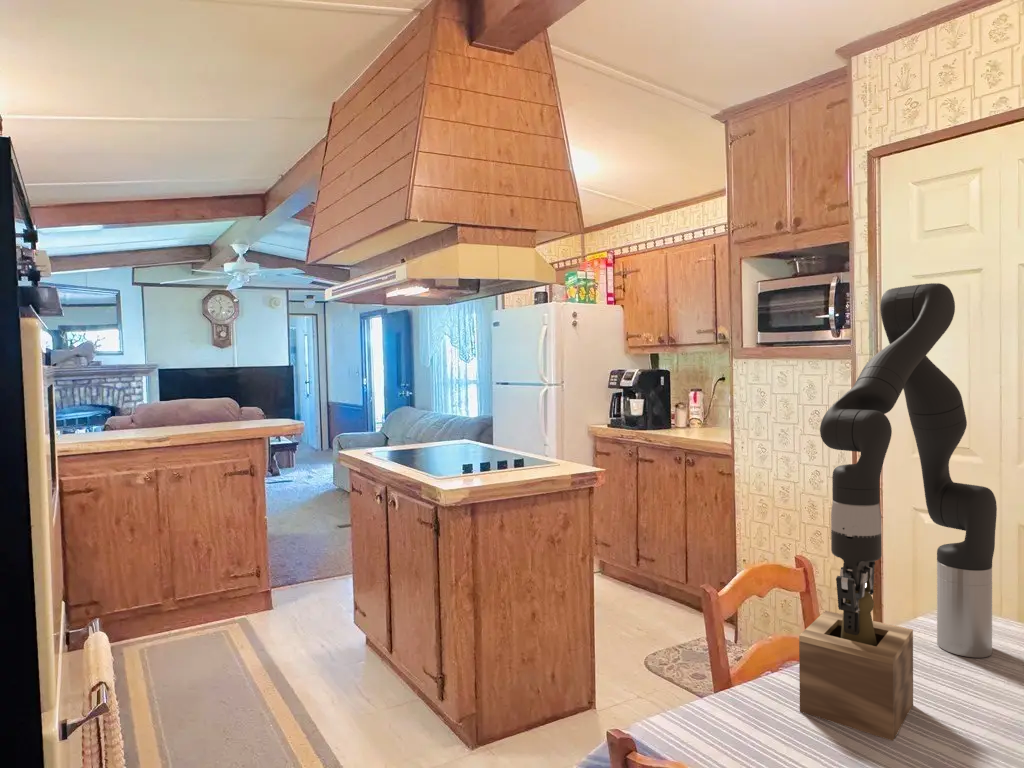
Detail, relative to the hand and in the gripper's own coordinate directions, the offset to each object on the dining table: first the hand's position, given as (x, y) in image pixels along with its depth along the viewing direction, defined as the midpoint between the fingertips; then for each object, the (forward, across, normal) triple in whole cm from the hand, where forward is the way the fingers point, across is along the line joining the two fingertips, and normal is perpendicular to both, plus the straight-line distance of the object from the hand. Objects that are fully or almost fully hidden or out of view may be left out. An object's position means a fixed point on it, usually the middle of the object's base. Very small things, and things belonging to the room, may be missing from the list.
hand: (856, 627), depth 114 cm
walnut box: (+14, 0, 0) cm, 14 cm away
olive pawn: (+5, -1, 0) cm, 5 cm away
